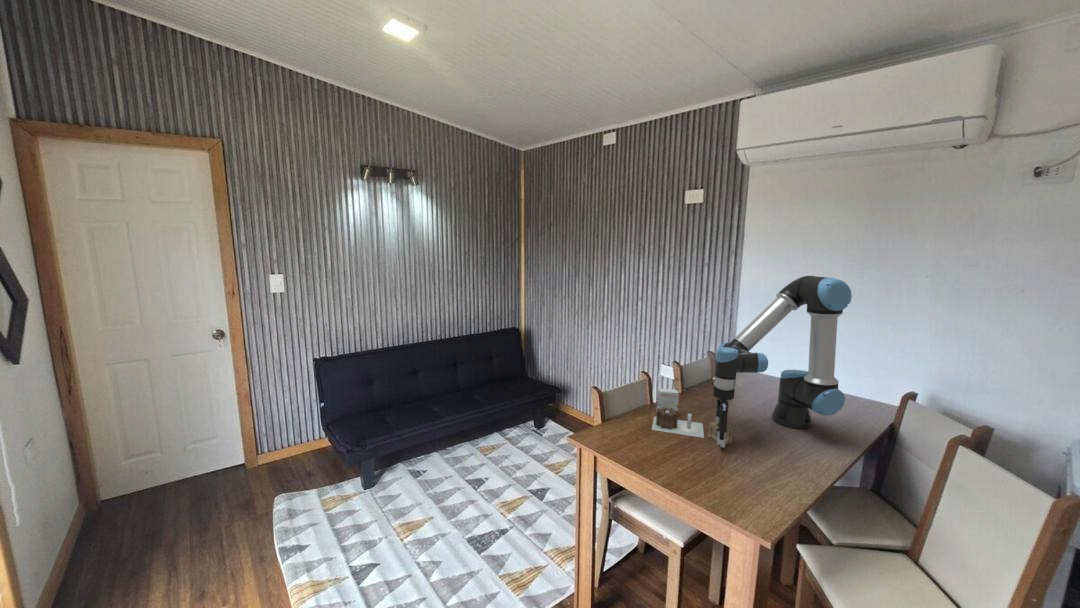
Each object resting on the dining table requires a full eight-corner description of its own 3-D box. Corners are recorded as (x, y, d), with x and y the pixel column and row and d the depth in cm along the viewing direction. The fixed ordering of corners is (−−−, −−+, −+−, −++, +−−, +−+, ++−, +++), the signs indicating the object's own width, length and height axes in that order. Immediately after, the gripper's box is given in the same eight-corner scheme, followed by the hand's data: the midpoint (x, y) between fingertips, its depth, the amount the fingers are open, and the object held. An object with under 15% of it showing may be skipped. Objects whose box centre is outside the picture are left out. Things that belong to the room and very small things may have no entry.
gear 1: (677, 422, 179) (678, 409, 178) (676, 430, 171) (677, 416, 171) (657, 419, 182) (657, 406, 181) (655, 427, 174) (656, 413, 173)
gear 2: (730, 437, 169) (731, 422, 168) (732, 446, 161) (733, 431, 160) (707, 433, 172) (708, 419, 171) (708, 442, 164) (709, 428, 163)
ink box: (657, 417, 187) (659, 392, 185) (655, 413, 192) (657, 388, 190) (677, 418, 186) (679, 393, 184) (675, 414, 191) (676, 389, 189)
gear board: (702, 426, 179) (703, 410, 178) (703, 440, 166) (705, 423, 165) (653, 418, 185) (654, 403, 184) (651, 432, 172) (652, 415, 171)
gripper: (711, 376, 176) (707, 425, 179) (715, 396, 153) (710, 452, 156) (731, 379, 173) (726, 428, 177) (738, 399, 151) (732, 455, 154)
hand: (719, 439), depth 167 cm, fingers open, 12 cm apart
